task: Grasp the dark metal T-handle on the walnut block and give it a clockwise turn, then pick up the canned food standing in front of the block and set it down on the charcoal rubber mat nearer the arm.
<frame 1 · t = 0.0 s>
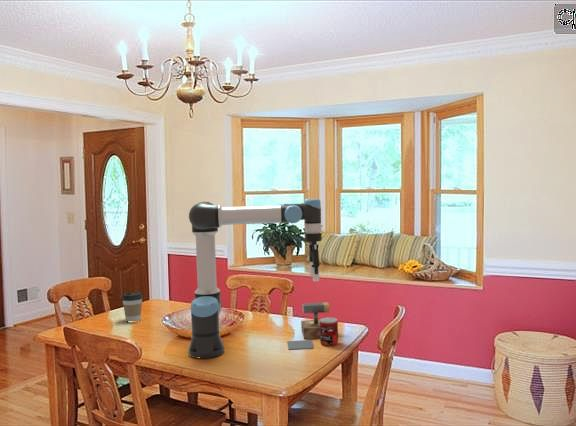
hand: (314, 278, 232), 28 cm above the table, fingers open, 13 cm apart
walnut block: (316, 334, 239), on the table
canned food: (329, 344, 224), on the table
coffee cup: (133, 321, 272), on the table
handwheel: (315, 313, 239), point 10 cm above the table, hinge at 0.0°
rubber mat: (300, 345, 224), on the table
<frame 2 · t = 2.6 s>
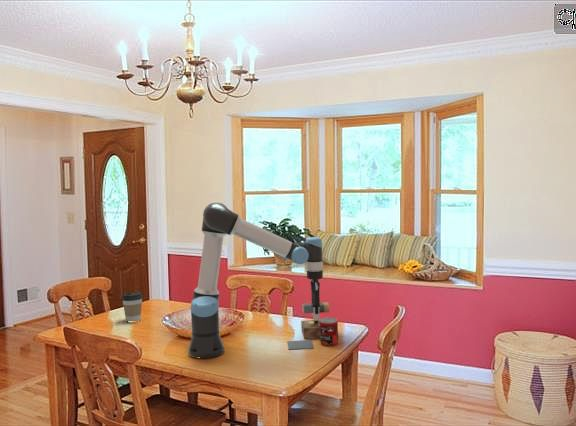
hand: (315, 318, 239), 8 cm above the table, fingers closed on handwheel, 5 cm apart
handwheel: (315, 313, 239), point 10 cm above the table, hinge at -0.1°, touching gripper
everything else where it was.
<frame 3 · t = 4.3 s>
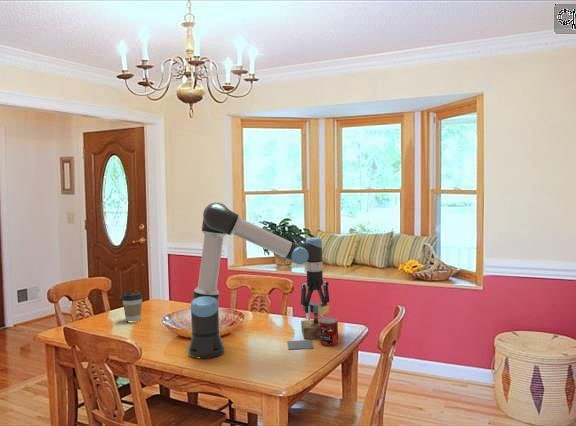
hand: (315, 318, 239), 8 cm above the table, fingers closed on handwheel, 7 cm apart
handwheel: (315, 313, 239), point 10 cm above the table, hinge at -46.1°, touching gripper
everything else where it was.
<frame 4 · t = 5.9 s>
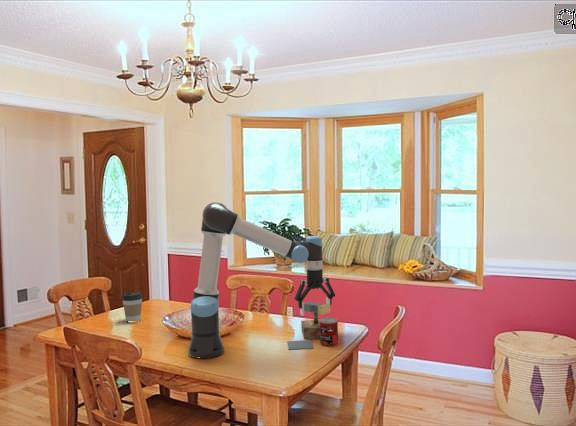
hand: (315, 313, 239), 10 cm above the table, fingers open, 13 cm apart
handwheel: (315, 313, 239), point 10 cm above the table, hinge at -47.2°
everything else where it was.
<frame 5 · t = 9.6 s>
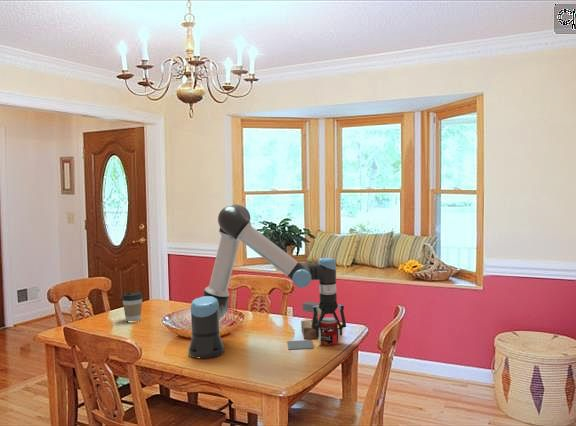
hand: (329, 343, 224), 0 cm above the table, fingers closed on canned food, 8 cm apart
canned food: (329, 344, 224), on the table, touching gripper
everything else where it was.
when the fingers open (2 cm above the table, at t = 14.5 s): canned food drops 1 cm, resting on rubber mat.
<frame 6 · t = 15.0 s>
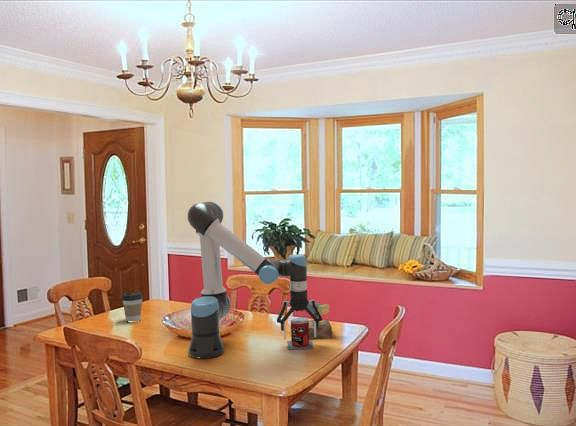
hand: (300, 337, 223), 4 cm above the table, fingers open, 13 cm apart
canned food: (300, 344, 224), resting on rubber mat
everything else where it was.
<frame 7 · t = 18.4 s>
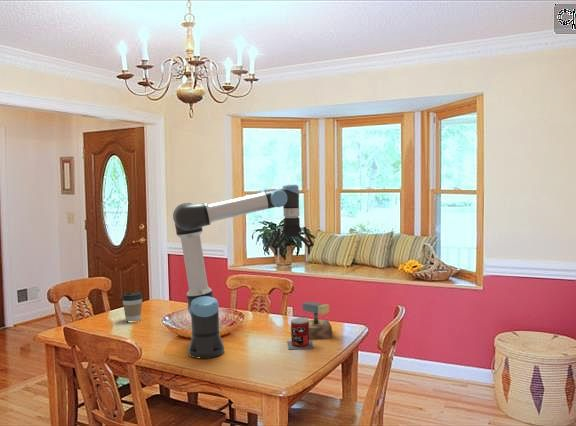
hand: (292, 261, 239), 35 cm above the table, fingers open, 13 cm apart
nothing on the table moved.
at the end: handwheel at -47° (first picture: +0°); canned food inside the target area on the rubber mat (0.1 cm from its centre), point 0.2 cm above the rubber mat's base; canned food tilted 0° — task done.
